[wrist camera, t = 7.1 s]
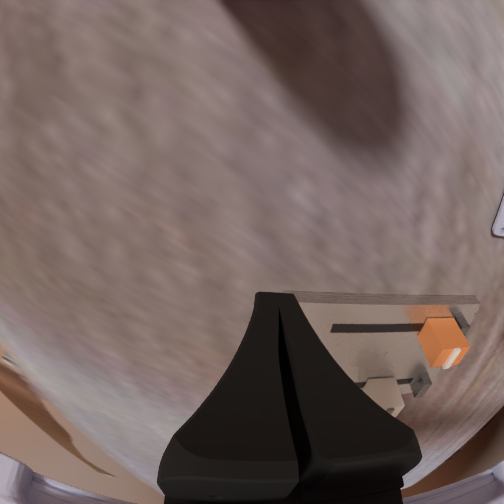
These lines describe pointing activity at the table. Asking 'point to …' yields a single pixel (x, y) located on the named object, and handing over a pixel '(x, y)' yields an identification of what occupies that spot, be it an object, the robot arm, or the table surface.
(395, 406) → the fader white
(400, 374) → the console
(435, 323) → the fader orange
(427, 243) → the table surface
